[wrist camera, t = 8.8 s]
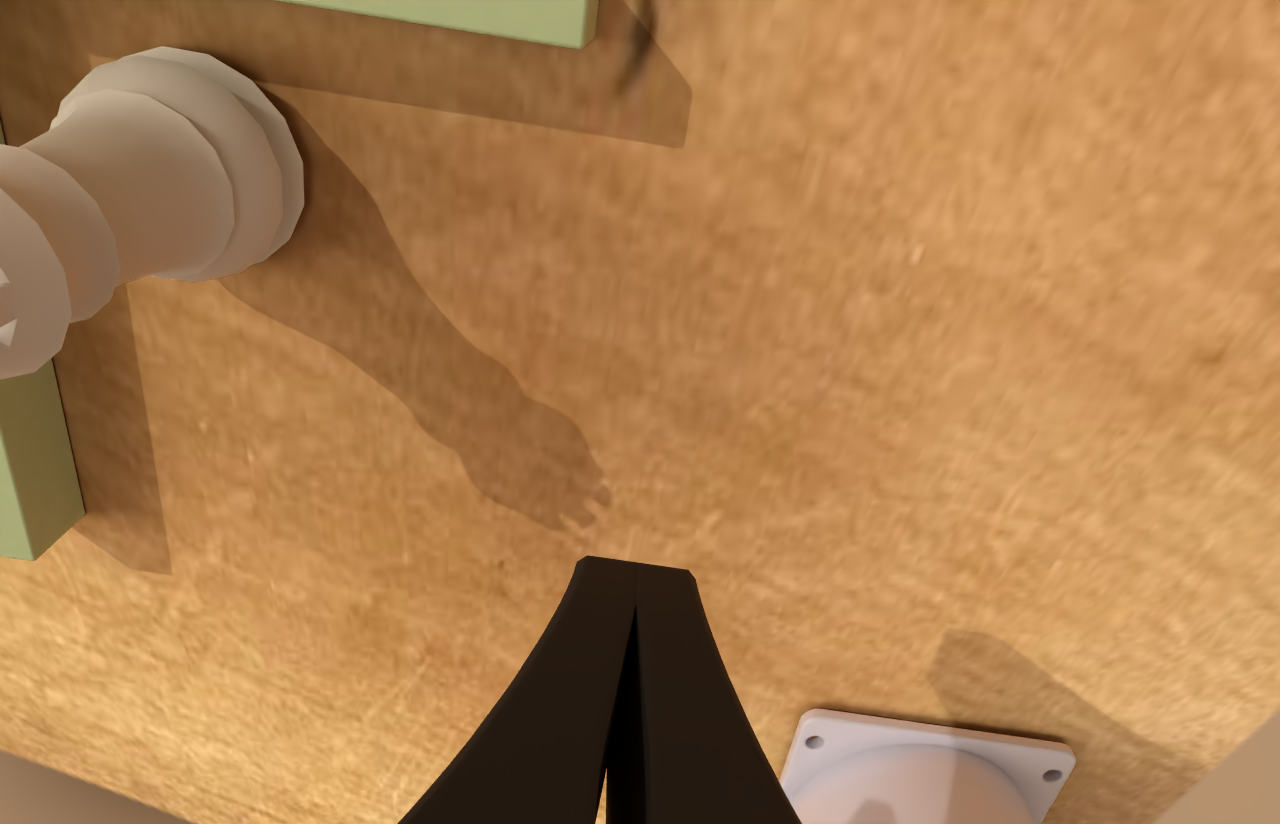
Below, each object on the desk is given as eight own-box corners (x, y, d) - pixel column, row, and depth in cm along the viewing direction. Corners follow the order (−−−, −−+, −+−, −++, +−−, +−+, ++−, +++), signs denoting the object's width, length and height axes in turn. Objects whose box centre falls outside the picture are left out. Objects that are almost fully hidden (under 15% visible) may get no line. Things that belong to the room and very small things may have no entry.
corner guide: (536, 579, 22) (523, 632, 21) (40, 508, 22) (-15, 555, 20) (602, -30, 15) (591, -27, 14) (-121, -148, 15) (-227, -162, 13)
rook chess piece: (53, 103, 17) (-389, 206, 10) (226, 2, 16) (-132, 39, 9) (192, 293, 19) (-98, 491, 12) (355, 214, 18) (143, 381, 11)
